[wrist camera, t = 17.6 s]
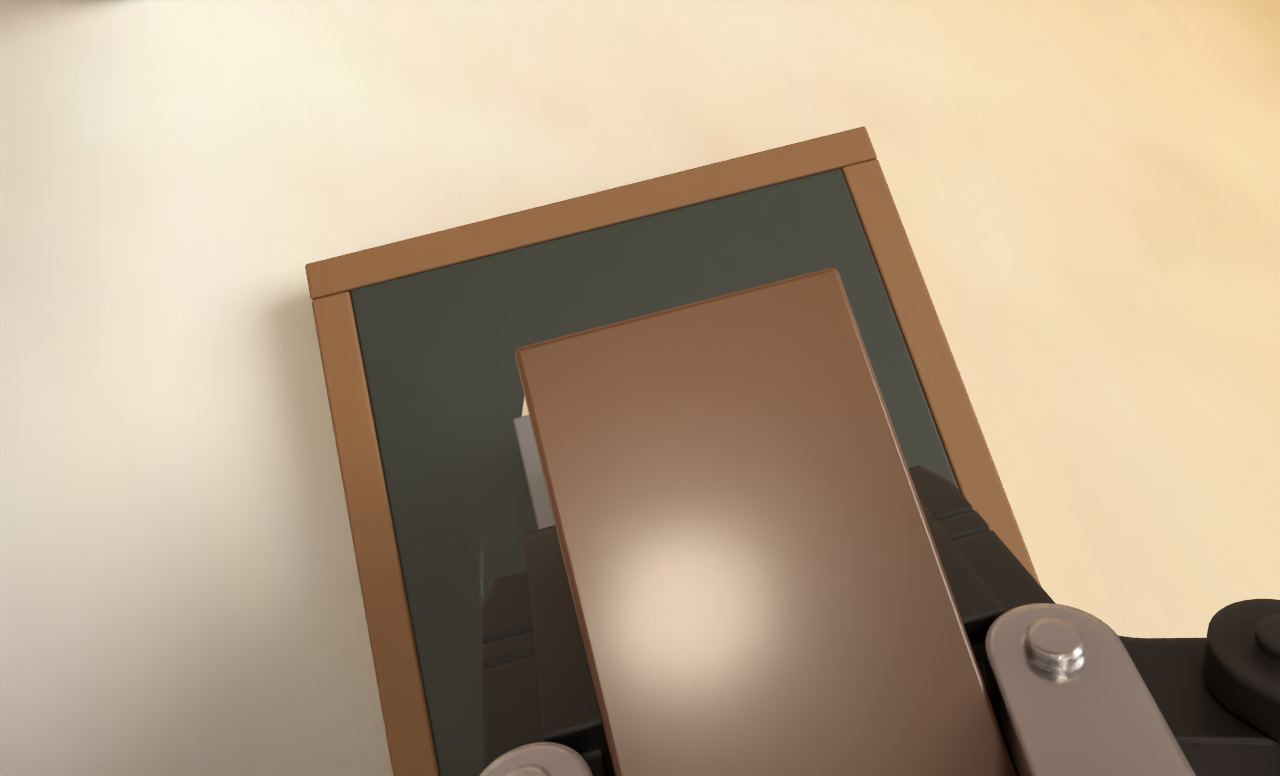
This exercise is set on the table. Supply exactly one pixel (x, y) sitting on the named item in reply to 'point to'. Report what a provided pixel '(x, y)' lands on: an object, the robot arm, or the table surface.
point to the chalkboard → (562, 305)
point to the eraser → (750, 546)
